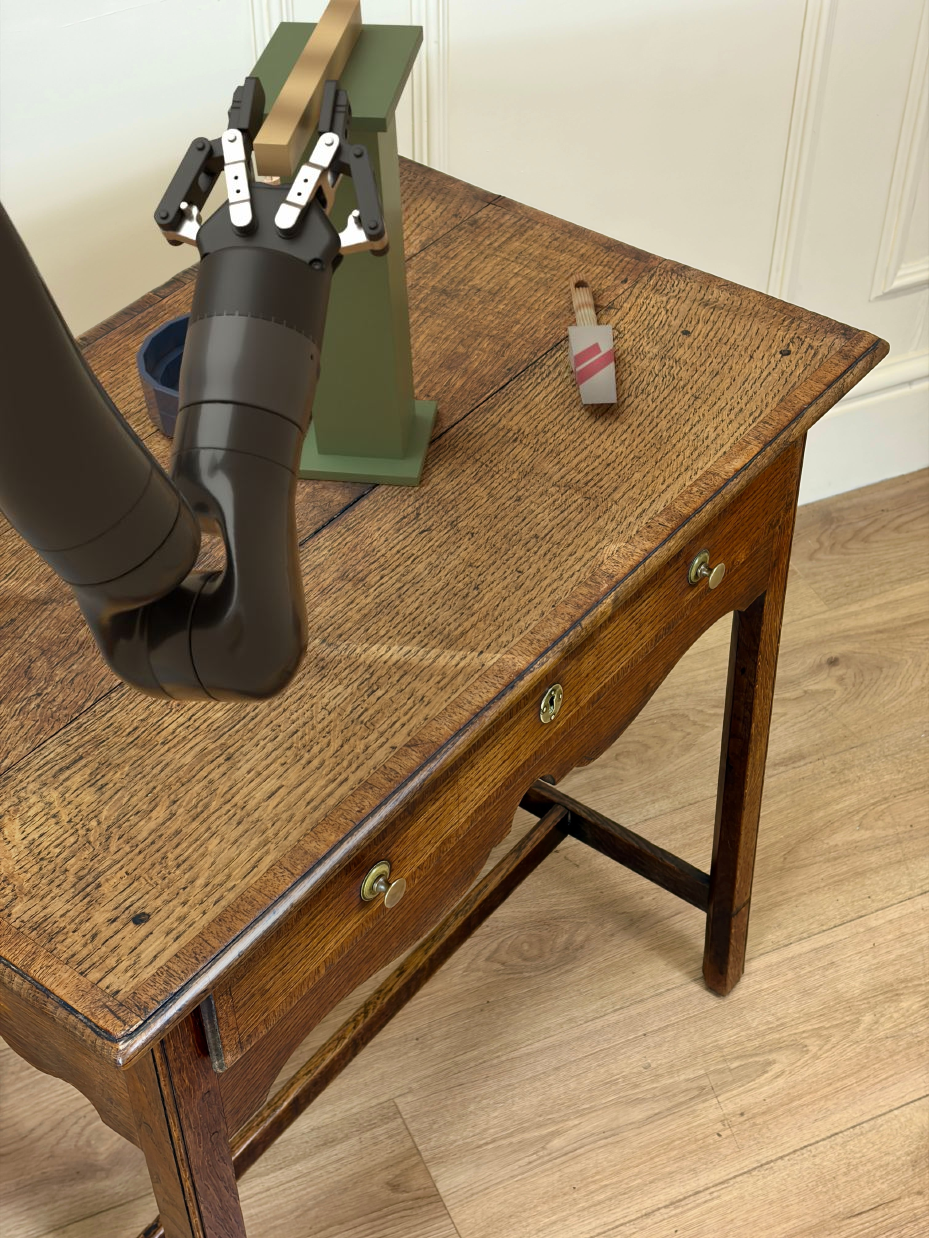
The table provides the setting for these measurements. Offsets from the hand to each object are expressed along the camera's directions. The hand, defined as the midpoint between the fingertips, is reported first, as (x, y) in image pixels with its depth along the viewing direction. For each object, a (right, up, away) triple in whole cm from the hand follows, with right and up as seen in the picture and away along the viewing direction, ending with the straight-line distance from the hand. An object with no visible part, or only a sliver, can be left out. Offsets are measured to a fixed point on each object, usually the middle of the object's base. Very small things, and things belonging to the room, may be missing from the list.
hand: (295, 88), depth 77 cm
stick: (+1, +1, +5) cm, 5 cm away
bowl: (-10, -13, +34) cm, 38 cm away
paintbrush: (+21, -8, +38) cm, 44 cm away
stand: (+2, -17, +30) cm, 34 cm away
